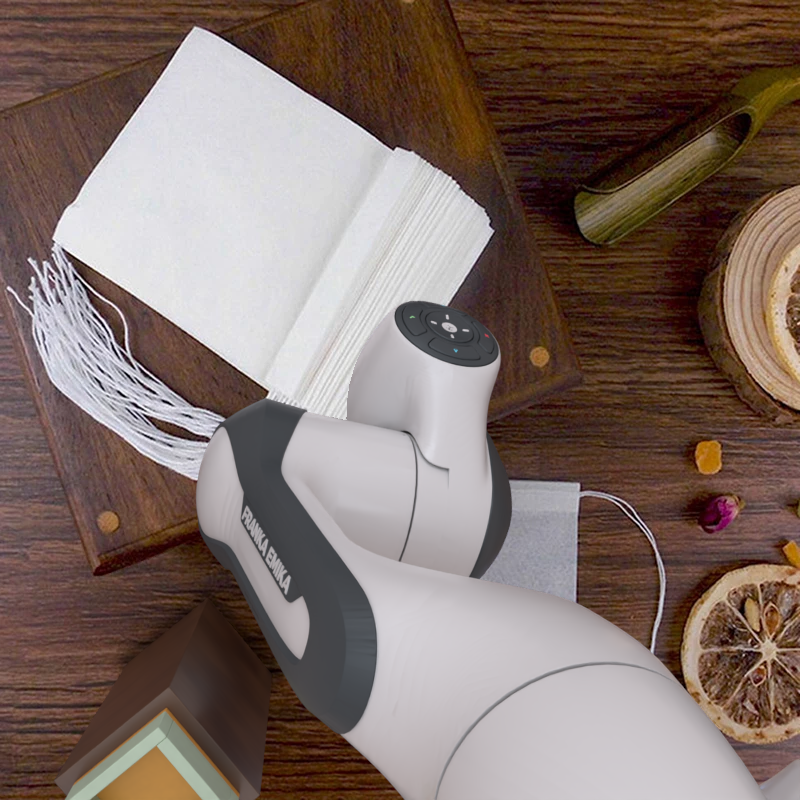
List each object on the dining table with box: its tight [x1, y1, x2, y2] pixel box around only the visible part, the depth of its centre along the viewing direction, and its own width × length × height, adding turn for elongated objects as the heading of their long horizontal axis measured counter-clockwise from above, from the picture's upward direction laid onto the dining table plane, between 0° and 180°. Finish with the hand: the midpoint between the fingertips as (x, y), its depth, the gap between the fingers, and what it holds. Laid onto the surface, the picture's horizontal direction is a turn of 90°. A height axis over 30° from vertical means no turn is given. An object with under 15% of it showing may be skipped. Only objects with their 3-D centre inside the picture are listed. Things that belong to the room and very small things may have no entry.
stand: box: [53, 597, 273, 800], centre depth 75 cm, size 9×9×26 cm
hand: (310, 575), depth 81 cm, fingers open, 8 cm apart
